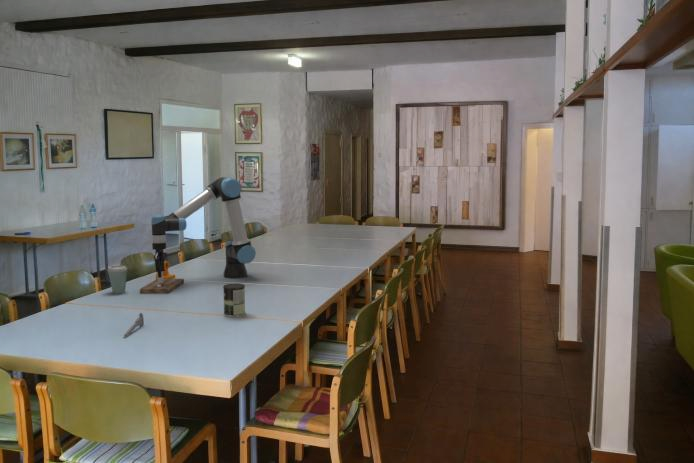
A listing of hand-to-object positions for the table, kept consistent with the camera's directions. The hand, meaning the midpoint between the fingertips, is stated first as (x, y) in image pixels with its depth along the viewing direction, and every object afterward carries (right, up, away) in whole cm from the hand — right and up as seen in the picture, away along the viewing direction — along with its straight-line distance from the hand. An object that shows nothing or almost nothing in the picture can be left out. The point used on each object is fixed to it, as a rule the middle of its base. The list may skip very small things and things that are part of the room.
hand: (160, 282), depth 348 cm
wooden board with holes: (0, -3, +4) cm, 5 cm away
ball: (0, -3, -3) cm, 4 cm away
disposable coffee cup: (-21, -5, -8) cm, 23 cm away
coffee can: (+54, -11, -57) cm, 79 cm away
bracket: (-5, -1, +28) cm, 28 cm away
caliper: (+15, -14, -86) cm, 88 cm away
